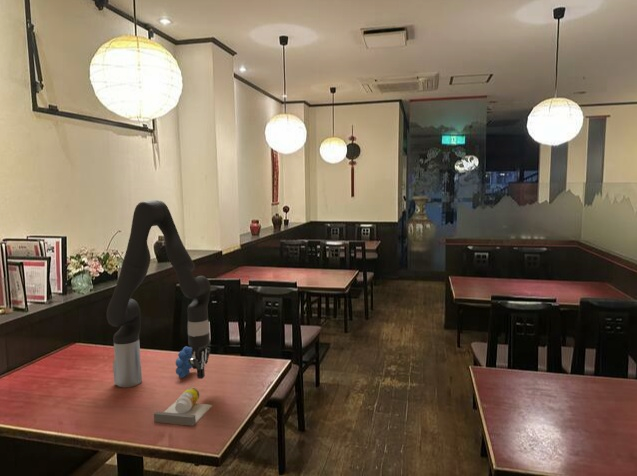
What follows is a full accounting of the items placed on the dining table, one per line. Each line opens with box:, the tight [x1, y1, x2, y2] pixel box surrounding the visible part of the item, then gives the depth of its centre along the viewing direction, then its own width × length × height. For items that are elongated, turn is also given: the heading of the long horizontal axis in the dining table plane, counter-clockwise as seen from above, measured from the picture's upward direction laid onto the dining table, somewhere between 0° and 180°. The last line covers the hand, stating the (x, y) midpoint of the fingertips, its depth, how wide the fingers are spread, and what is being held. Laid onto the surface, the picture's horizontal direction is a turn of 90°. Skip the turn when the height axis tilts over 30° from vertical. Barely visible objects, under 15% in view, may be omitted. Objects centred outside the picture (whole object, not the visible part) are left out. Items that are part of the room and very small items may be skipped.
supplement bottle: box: [175, 386, 201, 414], centre depth 154 cm, size 6×6×10 cm
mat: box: [153, 401, 213, 427], centre depth 152 cm, size 14×13×3 cm
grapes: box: [175, 345, 193, 379], centre depth 183 cm, size 12×7×12 cm, turn 164°
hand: (201, 377), depth 164 cm, fingers closed
